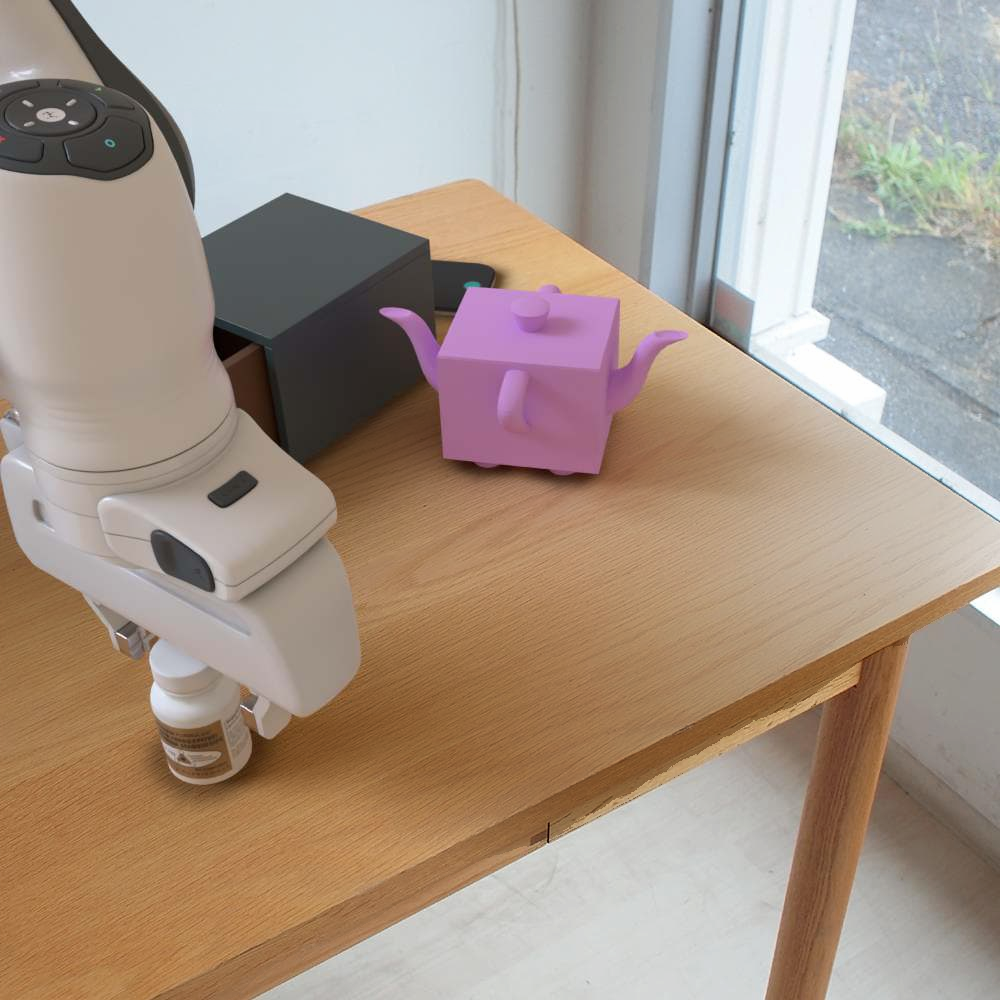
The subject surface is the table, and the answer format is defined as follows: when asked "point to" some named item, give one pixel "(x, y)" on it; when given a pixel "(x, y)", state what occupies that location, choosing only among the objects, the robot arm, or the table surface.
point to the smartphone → (457, 283)
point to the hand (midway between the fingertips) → (201, 685)
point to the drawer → (248, 378)
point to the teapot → (531, 376)
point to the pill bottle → (197, 717)
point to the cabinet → (321, 311)
